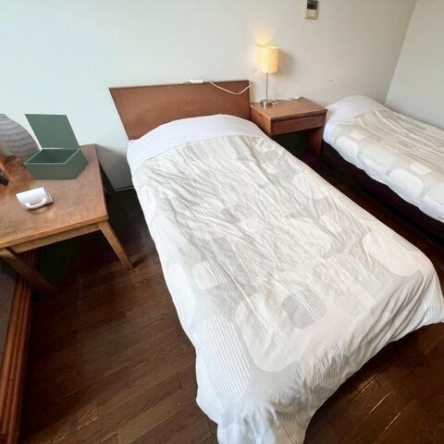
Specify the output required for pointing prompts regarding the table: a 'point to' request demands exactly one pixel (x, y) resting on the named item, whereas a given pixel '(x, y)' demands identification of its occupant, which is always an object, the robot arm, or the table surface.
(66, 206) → the table surface
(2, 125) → the vase
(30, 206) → the mug
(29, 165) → the chest
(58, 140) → the lid
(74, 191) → the table surface
